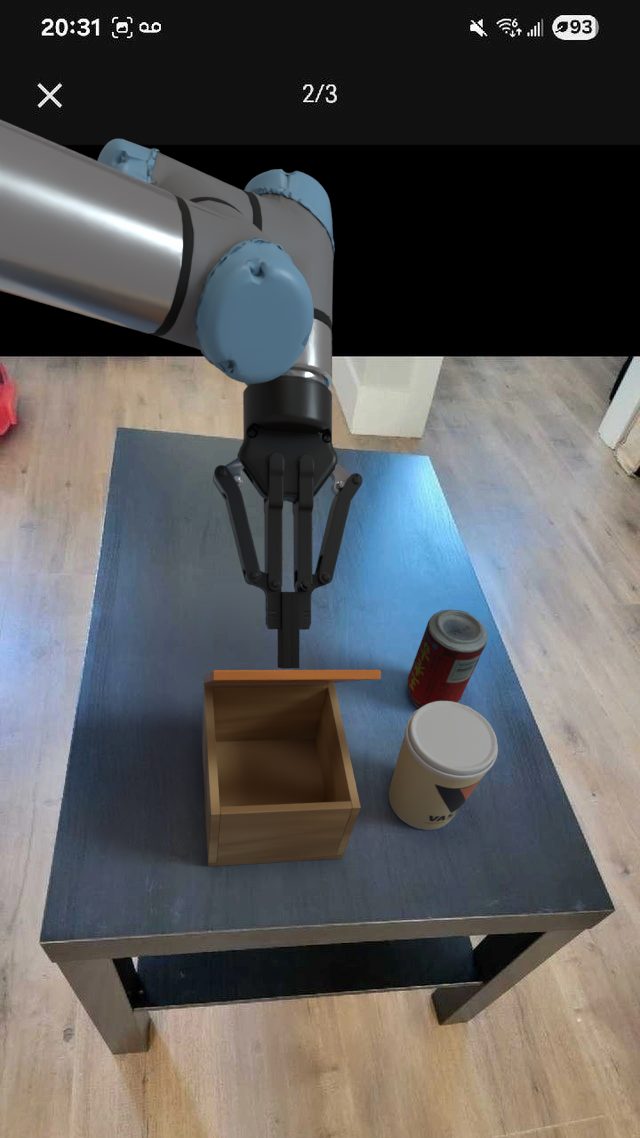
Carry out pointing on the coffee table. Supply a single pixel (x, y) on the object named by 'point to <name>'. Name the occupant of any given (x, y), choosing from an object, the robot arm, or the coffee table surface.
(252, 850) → the chest
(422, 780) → the coffee cup
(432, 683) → the soda can
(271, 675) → the lid
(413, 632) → the coffee table surface
